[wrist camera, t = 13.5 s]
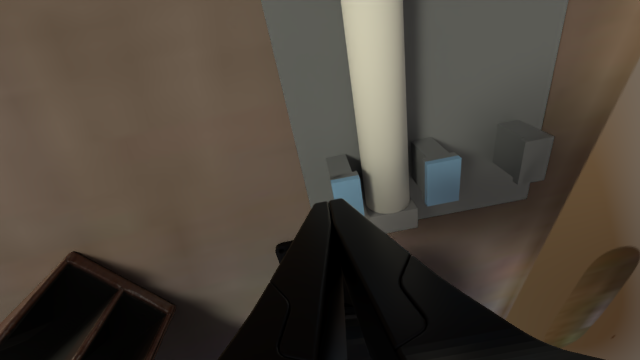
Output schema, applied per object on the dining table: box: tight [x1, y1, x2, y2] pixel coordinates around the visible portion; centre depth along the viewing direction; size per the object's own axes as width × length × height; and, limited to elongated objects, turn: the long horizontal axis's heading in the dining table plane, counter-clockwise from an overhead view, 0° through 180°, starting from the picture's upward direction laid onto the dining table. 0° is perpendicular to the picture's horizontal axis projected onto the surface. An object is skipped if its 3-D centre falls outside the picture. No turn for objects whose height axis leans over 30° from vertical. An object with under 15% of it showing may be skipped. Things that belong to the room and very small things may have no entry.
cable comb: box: [261, 0, 568, 219], centre depth 16 cm, size 17×25×4 cm
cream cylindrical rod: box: [341, 0, 418, 233], centre depth 16 cm, size 21×3×3 cm, turn 10°
